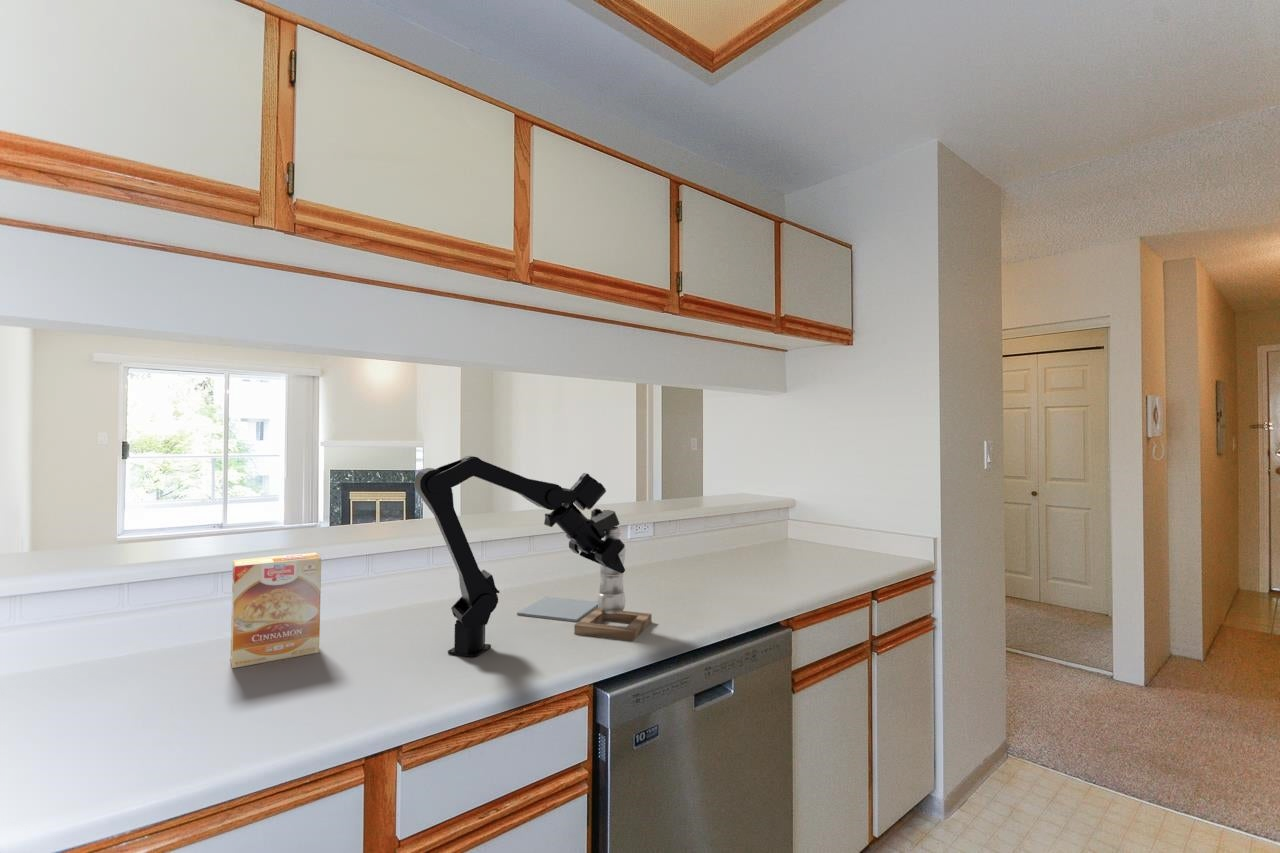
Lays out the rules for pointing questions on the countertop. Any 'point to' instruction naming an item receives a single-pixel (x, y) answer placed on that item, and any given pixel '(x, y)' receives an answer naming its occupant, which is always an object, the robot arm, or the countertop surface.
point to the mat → (559, 609)
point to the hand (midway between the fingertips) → (617, 569)
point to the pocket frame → (630, 632)
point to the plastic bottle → (612, 582)
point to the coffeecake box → (275, 608)
